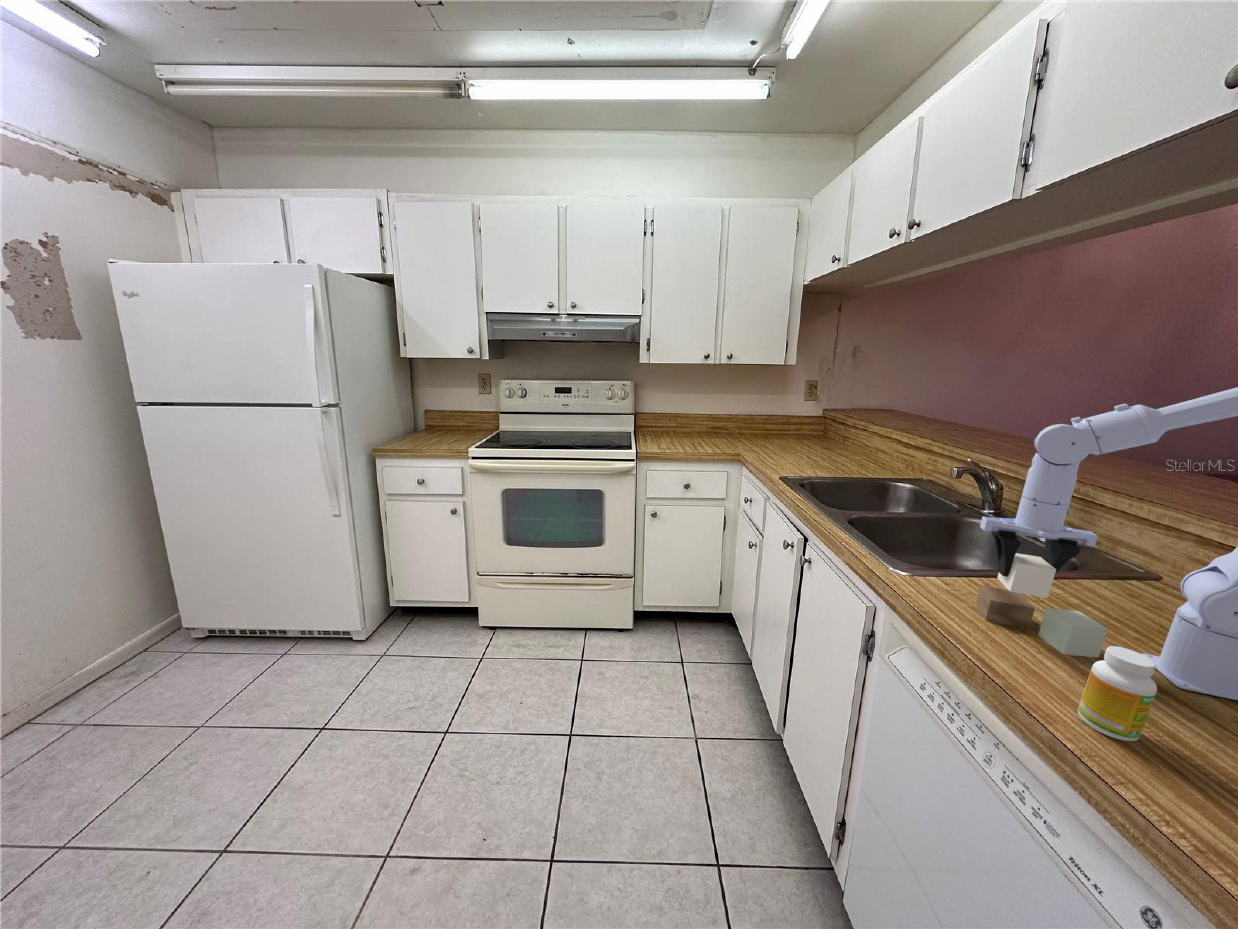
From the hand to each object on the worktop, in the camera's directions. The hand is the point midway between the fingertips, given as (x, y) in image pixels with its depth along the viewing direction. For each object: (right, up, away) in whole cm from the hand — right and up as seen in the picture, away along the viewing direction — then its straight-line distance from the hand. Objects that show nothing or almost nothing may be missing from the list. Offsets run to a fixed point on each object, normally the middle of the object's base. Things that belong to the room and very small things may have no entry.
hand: (1022, 577), depth 78 cm
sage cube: (+4, -10, -4) cm, 11 cm away
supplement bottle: (-7, -13, -20) cm, 25 cm away
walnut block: (0, -8, +4) cm, 9 cm away
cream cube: (0, -2, 0) cm, 2 cm away
